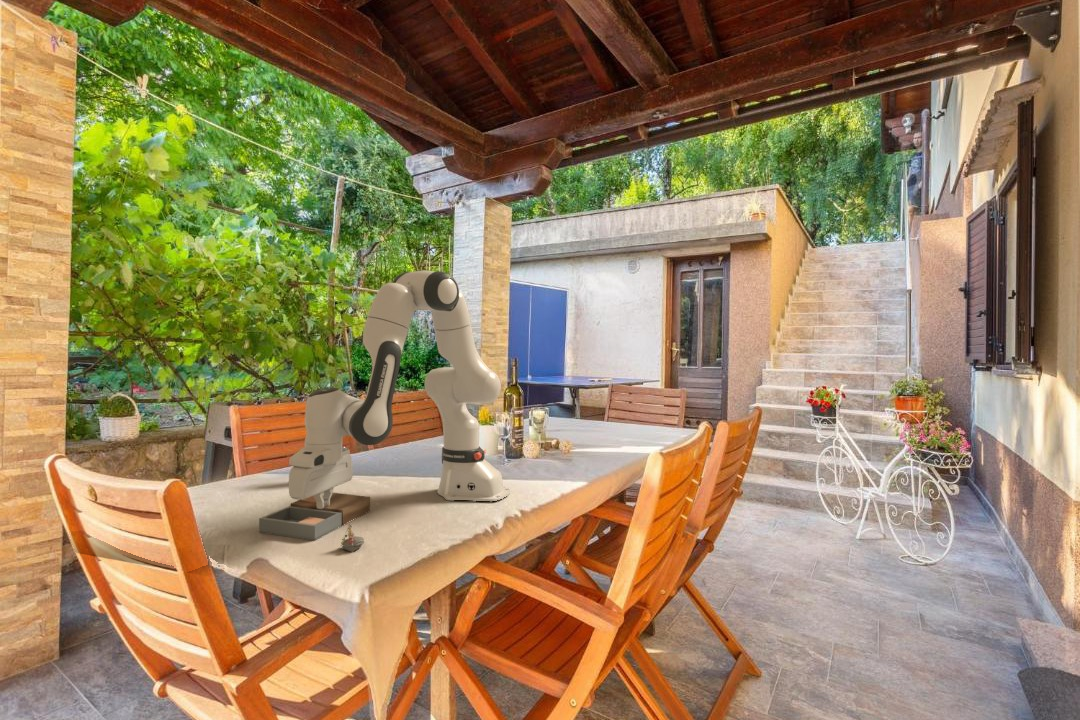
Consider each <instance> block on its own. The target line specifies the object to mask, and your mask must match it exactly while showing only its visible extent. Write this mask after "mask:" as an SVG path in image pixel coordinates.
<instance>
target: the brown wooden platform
mask: <svg viewBox="0 0 1080 720" xmlns="http://www.w3.org/2000/svg"><path fill="white" fill-rule="evenodd" d="M289 506H292V507H300V508H308V509H316V510H324V511H331V512H339V513H342V525H343V526H345V525H347V524H348V523H347V522H349V521H351V520H353V519H354V520H356V519H358V518H360V517H361V515H362V516H363V514H364V515H365V513H366V512H367V513H369V512H371V496H366V495H357V494H347V493H341V492H333V493H332V496H331V498H330V505H329V506H327V507H325V508H323V509H318V508H317V503H316V502H308V501H303V500H298V499H297V500H296V501H294V502H291V503H290V504H289ZM368 511H369V512H368ZM367 513H366V514H367ZM359 516H360V517H359ZM357 517H358V518H357ZM355 518H356V519H355ZM354 520H353V521H354ZM351 522H352V521H351ZM346 523H347V524H346ZM349 523H350V522H349ZM344 524H345V525H344Z"/></svg>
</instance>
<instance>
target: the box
mask: <svg viewBox="0 0 1080 720" xmlns="http://www.w3.org/2000/svg"><path fill="white" fill-rule="evenodd" d="M309 517H314V518H321V519H325V520H323V521H321V522H319V523H317V524H307V523H299V521H302V520H304V519H306V518H309ZM340 526H341V527H343V526H342V513H339V512H331V511H324V510H316V509H308V508H300V507H292V506H290V505H288V506H286V507H283V508H281V509H278V510H277V511H273V512H271V513H269V514H266V515H263V516H262V517H258V532H259V533H260V534H267V535H274V536H281V537H287V538H288V537H289V538H294V539H301V540H308V541H317V540H319V539H321V538H322V536H323V537H325V536H326V535H328V534H330V533H332V532H333V530H334V531H336V530H338V529H339V528H341V527H340ZM338 527H339V528H338ZM337 528H338V529H337ZM335 529H336V530H335ZM331 531H332V532H331ZM329 532H330V533H329ZM324 535H325V536H324Z"/></svg>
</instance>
